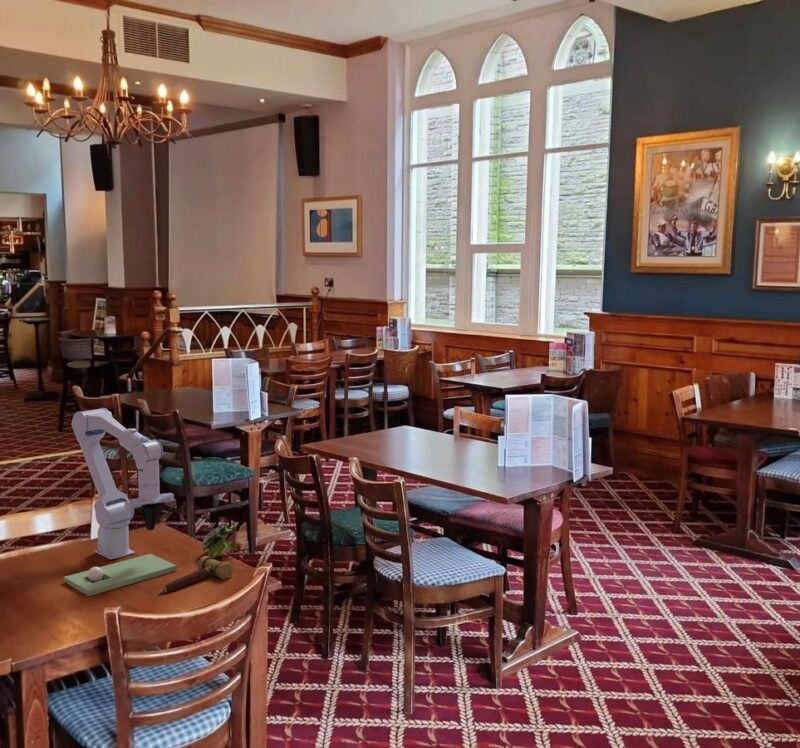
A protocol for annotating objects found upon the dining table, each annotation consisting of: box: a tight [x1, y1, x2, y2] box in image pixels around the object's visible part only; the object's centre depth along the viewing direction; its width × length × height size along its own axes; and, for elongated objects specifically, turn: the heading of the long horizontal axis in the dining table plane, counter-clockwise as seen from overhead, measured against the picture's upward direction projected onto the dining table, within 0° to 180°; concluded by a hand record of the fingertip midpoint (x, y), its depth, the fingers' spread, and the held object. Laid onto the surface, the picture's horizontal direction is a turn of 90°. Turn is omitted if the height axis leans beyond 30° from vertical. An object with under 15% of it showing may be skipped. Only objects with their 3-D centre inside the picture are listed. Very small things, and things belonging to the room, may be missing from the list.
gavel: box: [158, 555, 234, 594], centre depth 223 cm, size 21×5×10 cm
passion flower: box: [201, 521, 238, 559], centre depth 246 cm, size 11×11×12 cm
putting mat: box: [63, 553, 178, 597], centre depth 228 cm, size 14×26×2 cm, turn 137°
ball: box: [88, 566, 103, 582], centre depth 223 cm, size 4×4×4 cm
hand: (150, 529), depth 236 cm, fingers closed
